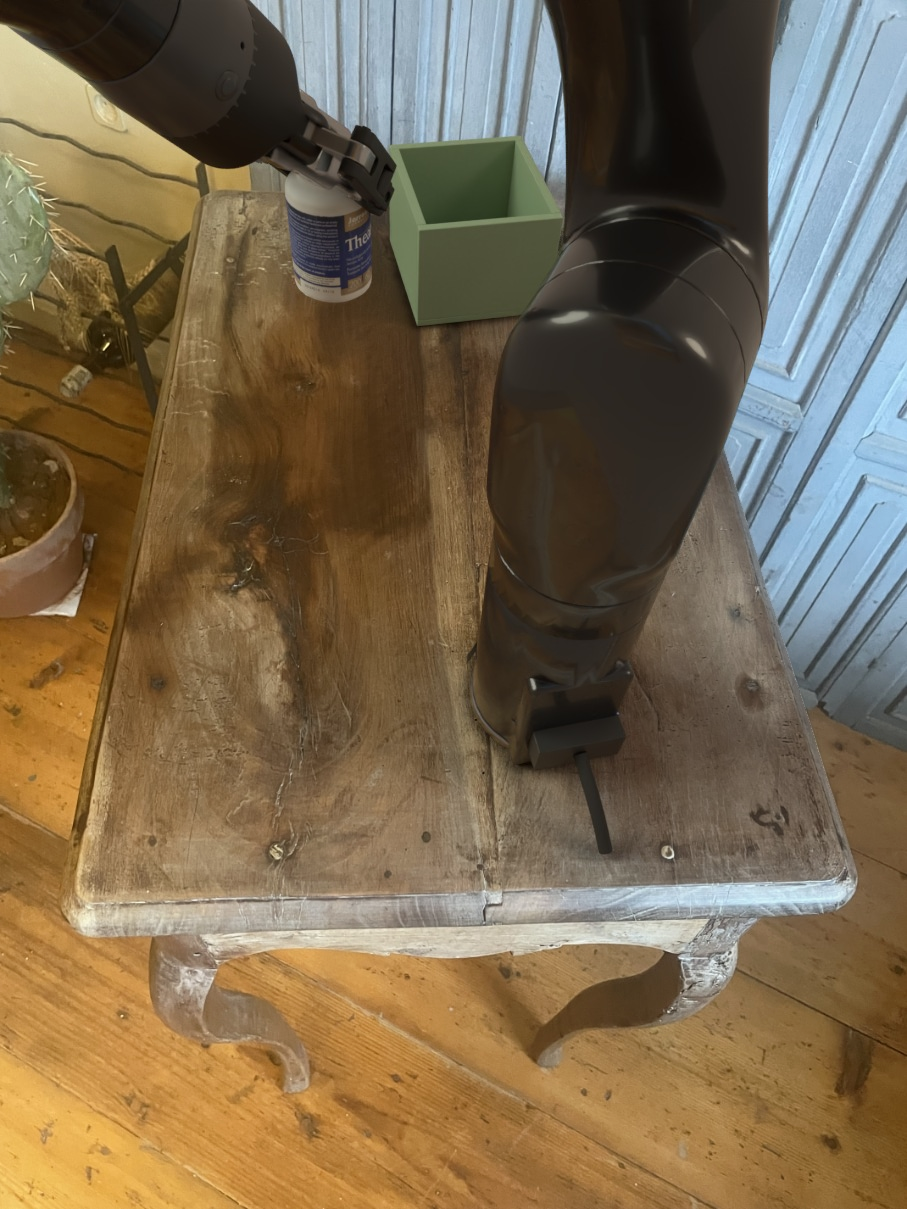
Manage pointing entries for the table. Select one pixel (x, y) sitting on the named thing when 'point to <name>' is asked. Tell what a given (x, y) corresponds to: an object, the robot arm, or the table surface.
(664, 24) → the robot arm
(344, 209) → the pill bottle
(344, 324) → the table surface
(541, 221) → the bin
